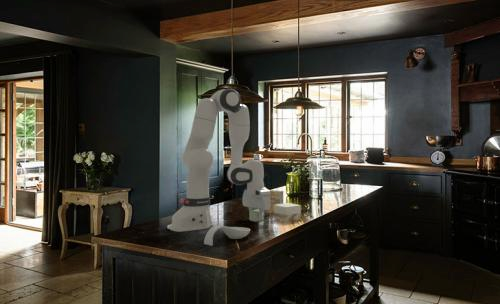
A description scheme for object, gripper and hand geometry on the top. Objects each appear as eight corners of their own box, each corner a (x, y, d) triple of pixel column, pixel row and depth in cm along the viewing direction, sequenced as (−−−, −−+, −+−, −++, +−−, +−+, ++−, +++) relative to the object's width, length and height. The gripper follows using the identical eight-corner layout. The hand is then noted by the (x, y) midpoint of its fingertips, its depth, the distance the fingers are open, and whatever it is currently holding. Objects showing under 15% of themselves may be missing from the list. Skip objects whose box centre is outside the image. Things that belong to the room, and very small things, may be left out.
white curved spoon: (235, 233, 191) (235, 217, 191) (255, 236, 183) (255, 220, 183) (198, 243, 173) (197, 226, 172) (218, 248, 165) (218, 230, 165)
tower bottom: (286, 222, 213) (286, 215, 212) (274, 219, 221) (274, 212, 221) (301, 220, 218) (301, 212, 218) (288, 217, 227) (288, 210, 226)
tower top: (286, 215, 212) (286, 207, 212) (274, 212, 221) (274, 204, 221) (300, 212, 218) (300, 205, 218) (288, 210, 226) (288, 202, 226)
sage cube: (255, 221, 215) (255, 212, 215) (249, 220, 219) (249, 210, 219) (262, 220, 218) (262, 210, 217) (257, 218, 222) (256, 209, 222)
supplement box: (267, 213, 236) (266, 190, 236) (270, 212, 241) (270, 189, 240) (280, 214, 232) (280, 191, 232) (283, 213, 237) (283, 190, 236)
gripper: (239, 189, 224) (239, 214, 225) (262, 192, 208) (263, 220, 208) (248, 188, 228) (249, 213, 228) (272, 191, 211) (272, 218, 212)
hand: (256, 216), depth 218 cm, fingers closed on sage cube, 5 cm apart
